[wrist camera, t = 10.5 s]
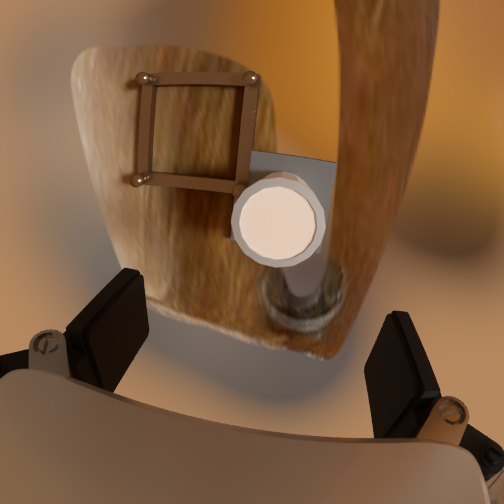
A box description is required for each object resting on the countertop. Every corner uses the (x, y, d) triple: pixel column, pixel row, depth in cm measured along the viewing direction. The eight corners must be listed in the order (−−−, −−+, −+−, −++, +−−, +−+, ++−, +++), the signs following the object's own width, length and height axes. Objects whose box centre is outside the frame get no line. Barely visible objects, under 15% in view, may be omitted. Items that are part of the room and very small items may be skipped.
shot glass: (245, 163, 27) (230, 175, 20) (321, 167, 26) (329, 180, 20) (245, 233, 30) (231, 265, 23) (316, 237, 29) (321, 271, 22)
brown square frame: (147, 75, 25) (136, 72, 23) (261, 76, 24) (257, 71, 22) (141, 181, 30) (130, 187, 27) (248, 193, 29) (244, 199, 26)
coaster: (240, 148, 27) (238, 149, 26) (335, 162, 26) (337, 163, 26) (232, 237, 31) (230, 240, 30) (319, 250, 30) (320, 253, 29)
